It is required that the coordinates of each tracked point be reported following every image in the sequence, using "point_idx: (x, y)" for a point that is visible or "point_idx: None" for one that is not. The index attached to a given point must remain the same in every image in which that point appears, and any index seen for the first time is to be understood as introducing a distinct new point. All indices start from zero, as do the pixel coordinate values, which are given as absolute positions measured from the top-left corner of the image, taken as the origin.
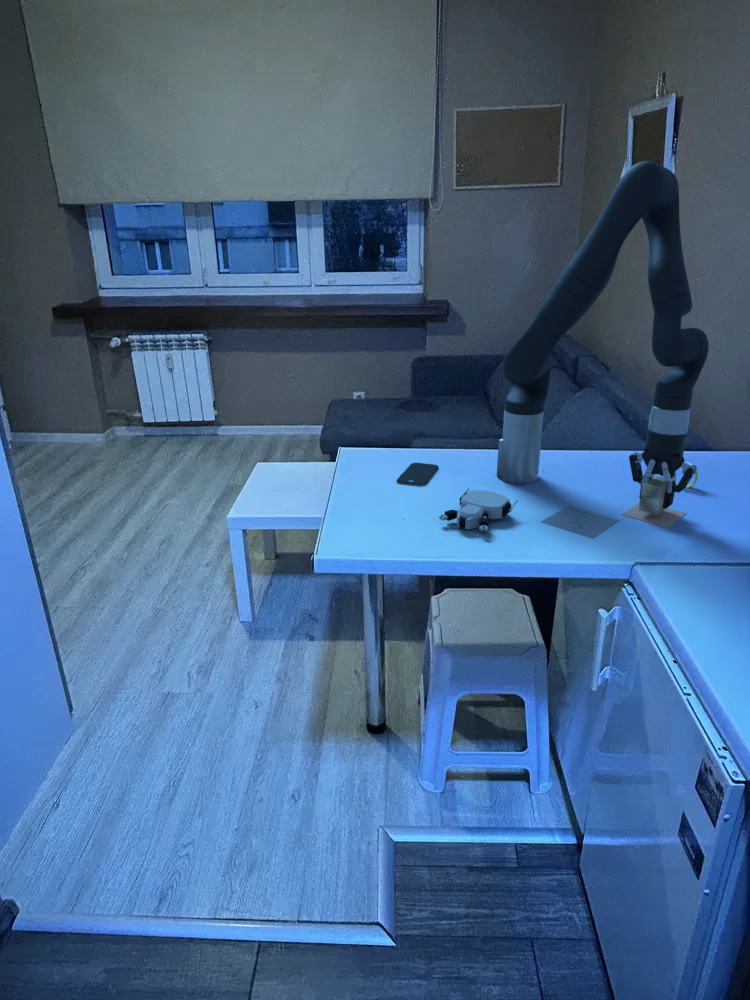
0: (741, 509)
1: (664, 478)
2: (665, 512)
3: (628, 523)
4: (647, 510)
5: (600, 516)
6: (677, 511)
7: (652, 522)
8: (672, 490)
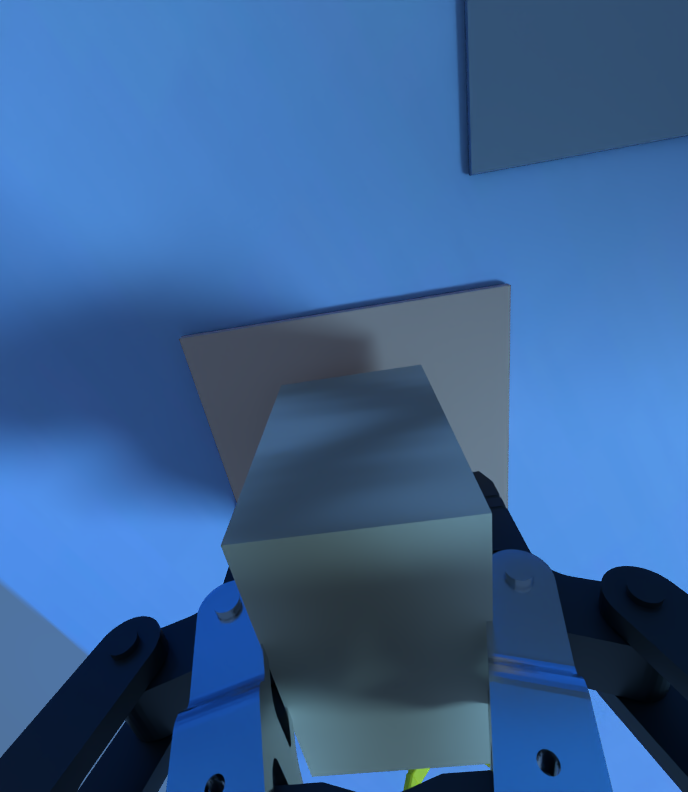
0: None
1: (253, 746)
2: None
3: (400, 197)
4: (354, 380)
5: (633, 102)
6: None
7: (288, 331)
8: (202, 621)
